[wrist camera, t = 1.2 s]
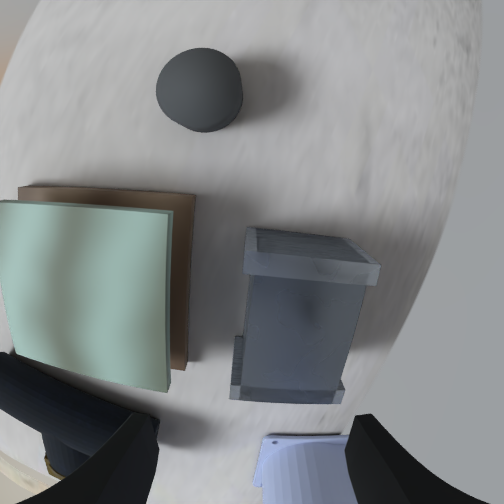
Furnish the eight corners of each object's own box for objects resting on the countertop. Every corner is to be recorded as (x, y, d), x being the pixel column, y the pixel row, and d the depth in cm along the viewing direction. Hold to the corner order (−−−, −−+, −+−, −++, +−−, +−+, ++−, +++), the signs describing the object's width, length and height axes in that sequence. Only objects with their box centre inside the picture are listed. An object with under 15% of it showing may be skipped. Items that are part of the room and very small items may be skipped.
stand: (195, 194, 17) (179, 204, 13) (187, 362, 20) (176, 400, 16) (26, 185, 17) (-12, 193, 13) (40, 331, 20) (13, 357, 16)
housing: (246, 226, 18) (244, 250, 13) (349, 238, 18) (381, 264, 13) (233, 348, 20) (229, 399, 15) (323, 355, 20) (340, 404, 15)
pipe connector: (138, 516, 20) (2, 452, 18) (149, 476, 25) (24, 422, 24) (147, 455, 17) (-24, 371, 16) (163, 407, 22) (9, 341, 21)
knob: (246, 68, 15) (245, 50, 13) (238, 135, 17) (235, 129, 14) (176, 64, 15) (162, 47, 12) (167, 130, 16) (151, 124, 14)
